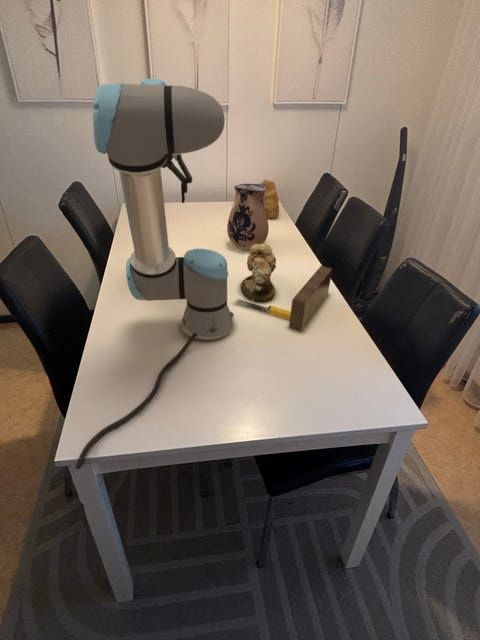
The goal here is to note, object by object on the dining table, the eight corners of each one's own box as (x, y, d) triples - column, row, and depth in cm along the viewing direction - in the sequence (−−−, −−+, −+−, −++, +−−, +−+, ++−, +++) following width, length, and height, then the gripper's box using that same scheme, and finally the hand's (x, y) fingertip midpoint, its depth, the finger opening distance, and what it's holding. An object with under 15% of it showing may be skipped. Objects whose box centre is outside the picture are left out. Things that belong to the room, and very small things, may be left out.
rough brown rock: (245, 207, 216) (243, 179, 207) (274, 204, 216) (274, 177, 208) (247, 223, 197) (246, 193, 189) (280, 220, 198) (280, 191, 189)
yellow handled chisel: (295, 317, 123) (295, 312, 122) (291, 321, 121) (292, 316, 120) (239, 300, 131) (239, 295, 130) (235, 304, 129) (235, 299, 128)
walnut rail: (301, 331, 117) (305, 303, 111) (288, 327, 118) (292, 299, 113) (327, 294, 136) (332, 268, 130) (316, 291, 137) (321, 265, 132)
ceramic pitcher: (220, 250, 164) (220, 190, 150) (238, 233, 181) (239, 177, 167) (260, 257, 159) (264, 196, 146) (274, 239, 176) (279, 182, 162)
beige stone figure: (236, 278, 143) (237, 234, 134) (267, 277, 145) (270, 233, 136) (245, 304, 129) (248, 256, 119) (280, 301, 131) (285, 254, 121)
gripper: (199, 134, 125) (200, 196, 140) (120, 130, 124) (130, 193, 139) (197, 143, 119) (198, 207, 134) (114, 139, 118) (125, 203, 133)
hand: (163, 200), depth 136 cm, fingers open, 13 cm apart
